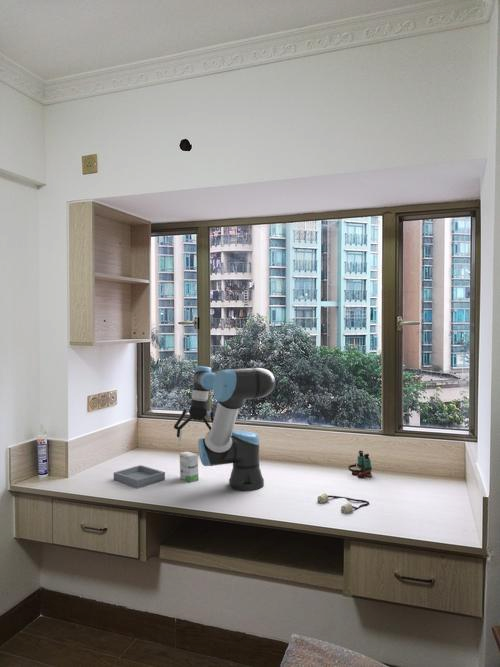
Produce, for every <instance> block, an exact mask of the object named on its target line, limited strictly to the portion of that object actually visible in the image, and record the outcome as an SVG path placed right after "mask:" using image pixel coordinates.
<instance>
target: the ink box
mask: <svg viewBox="0 0 500 667" xmlns="http://www.w3.org/2000/svg"><path fill="white" fill-rule="evenodd" d="M179 477H180V479H182V480H184V481H187V482H189V483H193V482H197V481H199V480H200V479H199V478H200V477H199V457H198V454H196V453H194V452H192V451H191V452H190V451H181V452H180V453H179Z"/></svg>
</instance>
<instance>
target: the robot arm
mask: <svg viewBox="0 0 500 667" xmlns="http://www.w3.org/2000/svg"><path fill="white" fill-rule="evenodd" d="M193 376H194V377H193V384H192V385H193V386H192V391H191V392H192V393H191V398H192V399H191V401H190V408H189V409H186V408H183V409H182V413H181V414H180V415H179V418H178V419H177V421H176V422H175V423H174V425H173V428H174V430H177V431H176V437H177V438H178V443H177V445H178V446H181V441H182V433H183V430H182V429H183V428H184V427H185V426H186V425H187V424H188V423H190V421H192V420H194V421H202V420H203V423H205V426H206V427H207V428H208V430H209V431H208V432H207V433H206V434H205V435H204V437H202V438H199V439H198V441H197V443H198V444H197V445H198V453H199V459H200V461H201V464H202V466H203V467H213V466H221V465H228V464H229V465H230V464H232V469H231V472H230V473H231V474H230V477H229V479H228V486H229V487H230V488H231V489H233V490H236V491H255V490H258V489H261V488H263V487H264V485H265V480H264V477H263V474H262V471H261V468H260V438H259V435H258V434H257V433H255V432H252V431H247V430H234V426H235V423H236V421H237V416H238V414H239V411H240V409H242V408H243V407H244V406H245V404H246V403H247V402H246V401H247V400H256V399H261V398H265V397H267V396H269V395H270V394H271V393H272V392H273V391H274V389H275V387H276V378H275V376H274V374H273V373H272V372H271V371H270V370H268V369H266V368H264V367H251V368H250V367H249V368H233V369H232V368H227V369H222V370H219V371H218V370H217V371H212V367H209V366H205V365H204V366H203V365H197V366H196V367H195V370H194V372H193ZM211 390H212V392H213V397H214V399H215V401H217V405H216V409H215V413H214V412H213V411H210V410H209V411H207V410H208V409H207V408H208V401H207V400H209V394H210V391H211ZM188 413H189V416H188V417H187V418H186V419H185V420H184V421H183V419H184V417H185V415H187V414H188ZM206 416H208V417H209V418H210V421H211V425H210V424H209V422H208V420H207V419H206ZM182 421H183V422H182ZM181 422H182V423H181ZM233 430H234V431H233Z"/></svg>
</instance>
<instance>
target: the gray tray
mask: <svg viewBox="0 0 500 667" xmlns="http://www.w3.org/2000/svg"><path fill="white" fill-rule="evenodd" d="M113 481H116V482H117V483H121V484H124V485H127V486H129V487H132V488H136V489H140V488H143V487H146V486H150V485H153V484H156V483H159V482H162V481H166V472H165V471H162V470H159V469H155V468H151V467H148V466H146V465H141V464H140V465H136V466H132V467H128V468H124V469H121V470H118V471H114V472H113Z"/></svg>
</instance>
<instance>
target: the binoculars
mask: <svg viewBox="0 0 500 667" xmlns="http://www.w3.org/2000/svg"><path fill="white" fill-rule="evenodd" d="M358 454H359V455H357V462H355V464H351V465H348V467H347V468H348V470H349V471H350V472H351V475H352V476H357V478H359V479H360V478H364V477H365V476H366V477H373V473H372V469H373V468H372V463H371V459H370V457H369V456H370V454H369V453H364V451H363V450H359V451H358ZM353 468H356V469H353ZM357 468H358V469H357Z"/></svg>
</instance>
